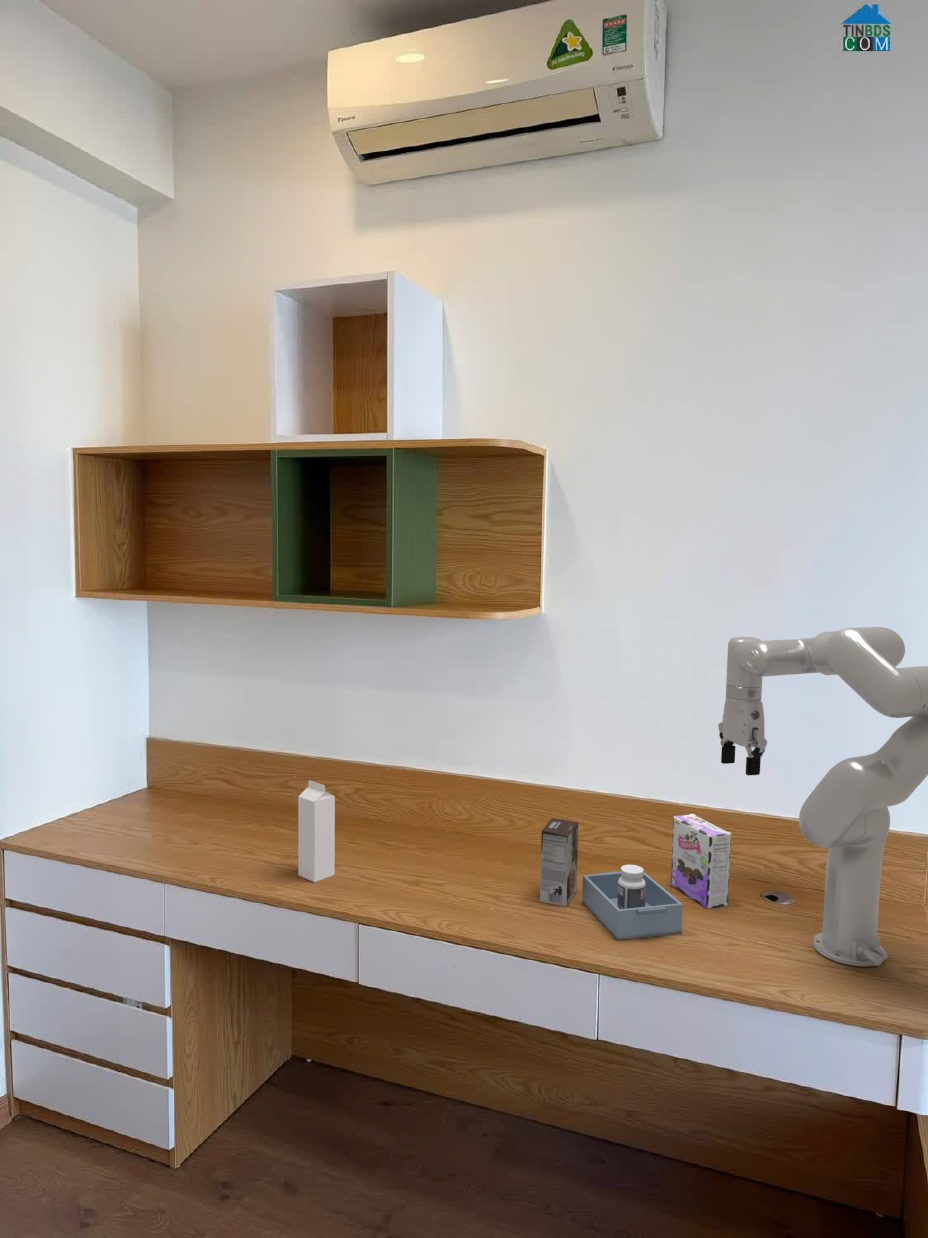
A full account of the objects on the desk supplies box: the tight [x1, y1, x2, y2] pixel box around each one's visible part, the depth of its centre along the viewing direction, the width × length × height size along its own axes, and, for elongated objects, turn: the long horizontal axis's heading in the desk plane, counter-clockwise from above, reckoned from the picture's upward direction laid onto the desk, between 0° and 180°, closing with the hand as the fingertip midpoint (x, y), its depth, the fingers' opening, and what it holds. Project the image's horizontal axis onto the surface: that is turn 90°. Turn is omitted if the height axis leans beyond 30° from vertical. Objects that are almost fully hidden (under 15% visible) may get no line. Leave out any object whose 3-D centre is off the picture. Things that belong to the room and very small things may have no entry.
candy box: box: [670, 813, 732, 909], centre depth 188 cm, size 14×6×16 cm, turn 21°
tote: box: [581, 870, 684, 941], centre depth 176 cm, size 20×14×6 cm
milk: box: [297, 780, 336, 883], centre depth 195 cm, size 6×6×22 cm
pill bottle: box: [617, 864, 646, 909], centre depth 176 cm, size 6×6×10 cm
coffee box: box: [539, 817, 579, 907], centre depth 186 cm, size 9×6×16 cm
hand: (739, 768), depth 188 cm, fingers open, 9 cm apart
